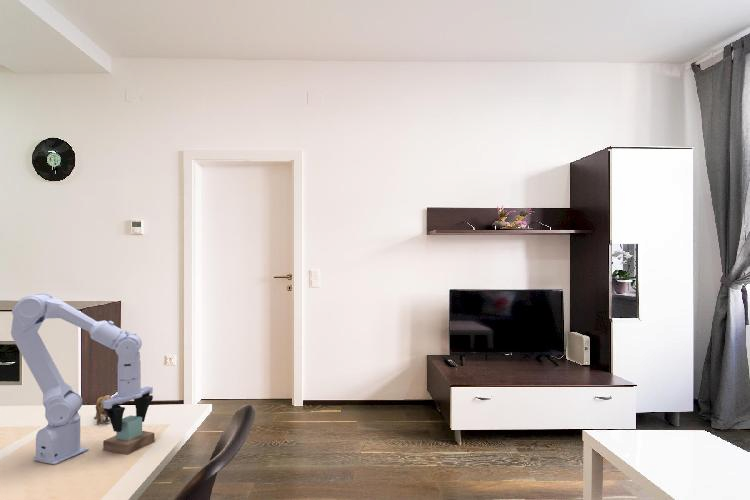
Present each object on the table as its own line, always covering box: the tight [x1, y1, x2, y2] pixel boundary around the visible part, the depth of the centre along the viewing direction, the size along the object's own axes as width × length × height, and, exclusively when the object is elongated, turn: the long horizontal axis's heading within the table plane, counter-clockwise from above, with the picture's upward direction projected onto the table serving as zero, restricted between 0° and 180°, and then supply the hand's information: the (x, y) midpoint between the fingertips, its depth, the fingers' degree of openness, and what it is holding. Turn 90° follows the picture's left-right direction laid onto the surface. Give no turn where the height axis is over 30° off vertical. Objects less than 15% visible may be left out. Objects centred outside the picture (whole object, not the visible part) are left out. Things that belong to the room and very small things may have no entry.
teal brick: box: [116, 414, 143, 441], centre depth 127 cm, size 4×4×5 cm
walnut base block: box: [102, 430, 155, 455], centre depth 127 cm, size 9×9×2 cm
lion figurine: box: [93, 395, 112, 425], centre depth 148 cm, size 15×5×9 cm, turn 44°
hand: (129, 426), depth 127 cm, fingers open, 7 cm apart
